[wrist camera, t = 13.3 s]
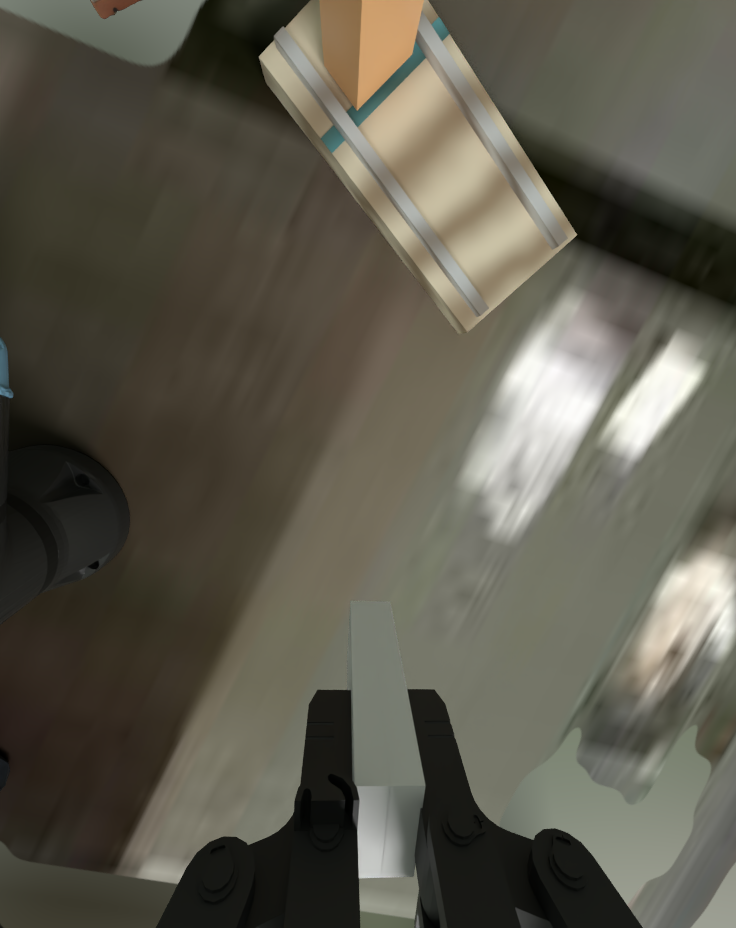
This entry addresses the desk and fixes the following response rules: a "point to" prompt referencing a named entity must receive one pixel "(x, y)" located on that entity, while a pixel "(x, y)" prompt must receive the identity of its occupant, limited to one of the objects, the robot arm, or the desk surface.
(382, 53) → the tall orange upright pillar
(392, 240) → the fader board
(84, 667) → the desk surface
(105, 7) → the electronic device
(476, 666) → the desk surface
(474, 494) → the desk surface
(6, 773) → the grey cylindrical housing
